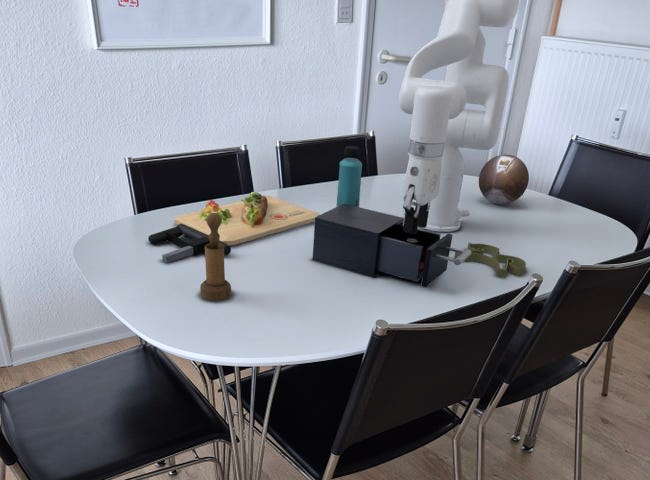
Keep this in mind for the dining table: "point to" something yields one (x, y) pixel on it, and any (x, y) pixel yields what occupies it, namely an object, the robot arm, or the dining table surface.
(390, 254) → the drawer
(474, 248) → the cookie cutter
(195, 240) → the toy gun
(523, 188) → the wooden sphere
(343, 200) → the beverage bottle
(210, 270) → the mortar and pestle
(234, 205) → the cutting board
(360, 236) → the dark grey metal box
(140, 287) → the dining table surface
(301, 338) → the dining table surface
